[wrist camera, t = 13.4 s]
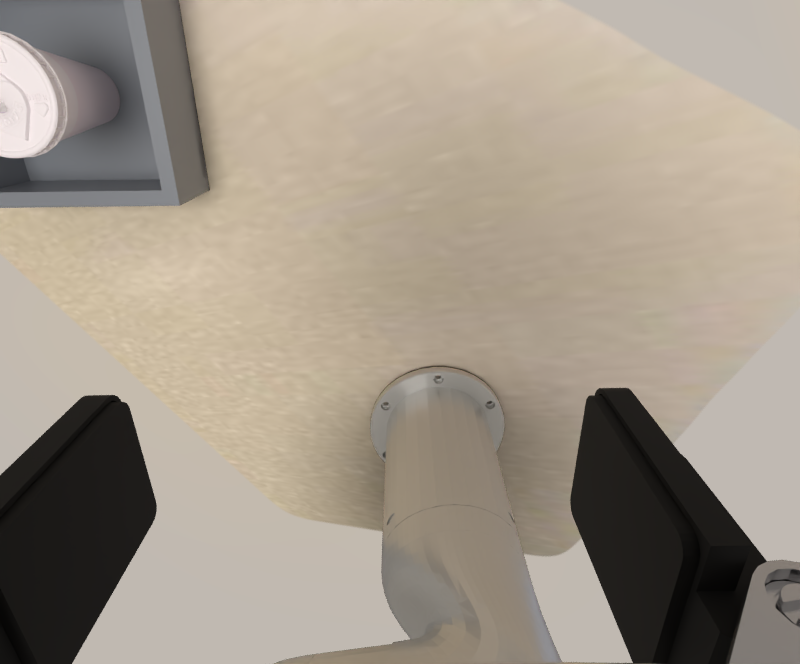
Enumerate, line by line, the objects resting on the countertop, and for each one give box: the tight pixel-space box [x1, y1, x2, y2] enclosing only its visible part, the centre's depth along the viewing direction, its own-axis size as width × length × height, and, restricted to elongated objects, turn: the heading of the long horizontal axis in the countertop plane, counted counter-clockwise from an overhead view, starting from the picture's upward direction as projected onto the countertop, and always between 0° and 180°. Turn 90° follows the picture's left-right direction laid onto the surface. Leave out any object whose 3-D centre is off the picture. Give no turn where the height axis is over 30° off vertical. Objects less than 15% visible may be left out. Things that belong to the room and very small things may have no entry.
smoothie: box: [0, 31, 120, 158], centre depth 30 cm, size 6×6×14 cm
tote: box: [0, 0, 210, 208], centre depth 34 cm, size 14×14×6 cm
